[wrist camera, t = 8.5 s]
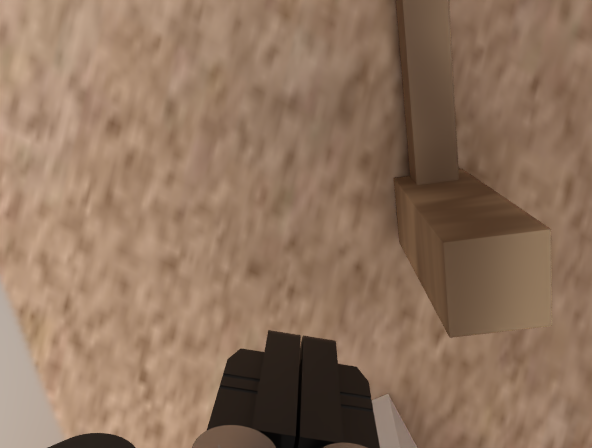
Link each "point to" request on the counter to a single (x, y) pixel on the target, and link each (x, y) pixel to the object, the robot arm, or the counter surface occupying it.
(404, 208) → the lever
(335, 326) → the counter surface
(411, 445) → the milk
